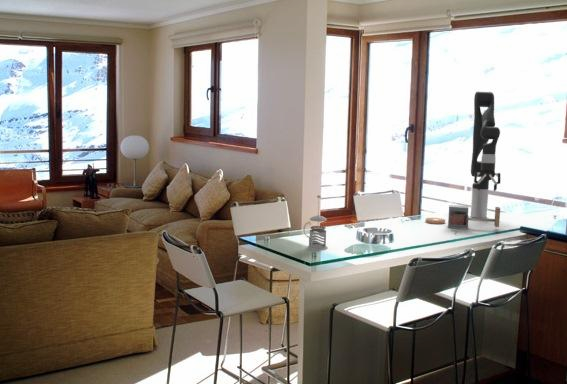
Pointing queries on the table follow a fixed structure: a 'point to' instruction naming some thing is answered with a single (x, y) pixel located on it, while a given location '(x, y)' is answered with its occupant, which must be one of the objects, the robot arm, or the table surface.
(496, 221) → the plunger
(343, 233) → the table surface
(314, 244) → the french press
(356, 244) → the table surface
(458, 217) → the lighter
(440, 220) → the coaster
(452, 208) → the grey box
